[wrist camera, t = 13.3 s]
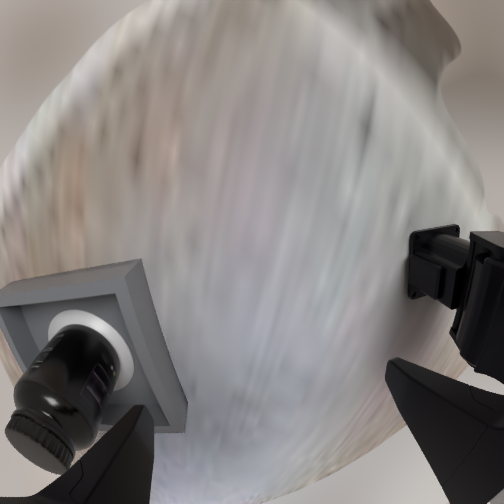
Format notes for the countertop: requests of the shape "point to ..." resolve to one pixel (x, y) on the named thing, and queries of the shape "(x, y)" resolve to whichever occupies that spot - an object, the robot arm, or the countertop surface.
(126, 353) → the housing
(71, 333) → the supplement bottle
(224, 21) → the countertop surface
